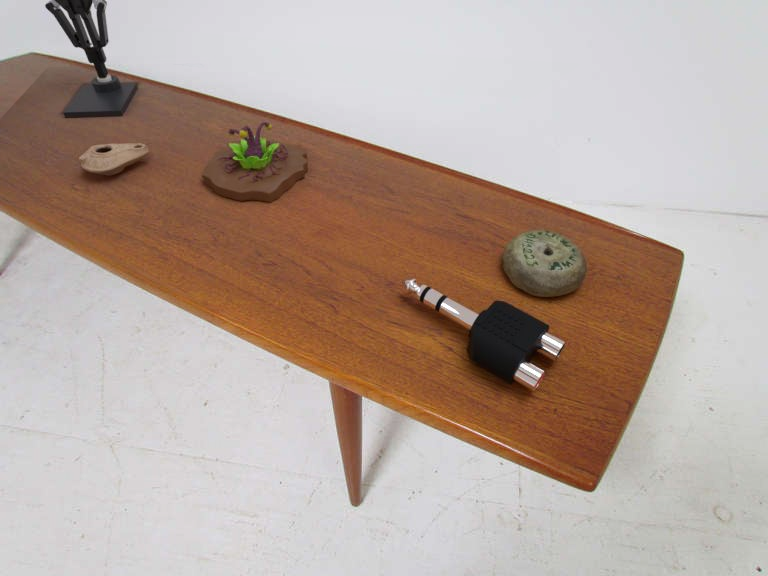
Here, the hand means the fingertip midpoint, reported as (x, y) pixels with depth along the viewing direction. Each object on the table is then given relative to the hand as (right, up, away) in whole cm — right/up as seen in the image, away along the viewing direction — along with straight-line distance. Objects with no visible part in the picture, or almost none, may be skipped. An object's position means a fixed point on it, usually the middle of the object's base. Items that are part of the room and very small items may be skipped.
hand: (103, 75), depth 125 cm
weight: (+97, -51, -42) cm, 117 cm away
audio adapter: (+83, -60, -51) cm, 114 cm away
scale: (0, -7, -1) cm, 7 cm away
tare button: (0, -2, +2) cm, 2 cm away
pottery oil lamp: (+16, -29, -22) cm, 40 cm away
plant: (+44, -30, -22) cm, 58 cm away
